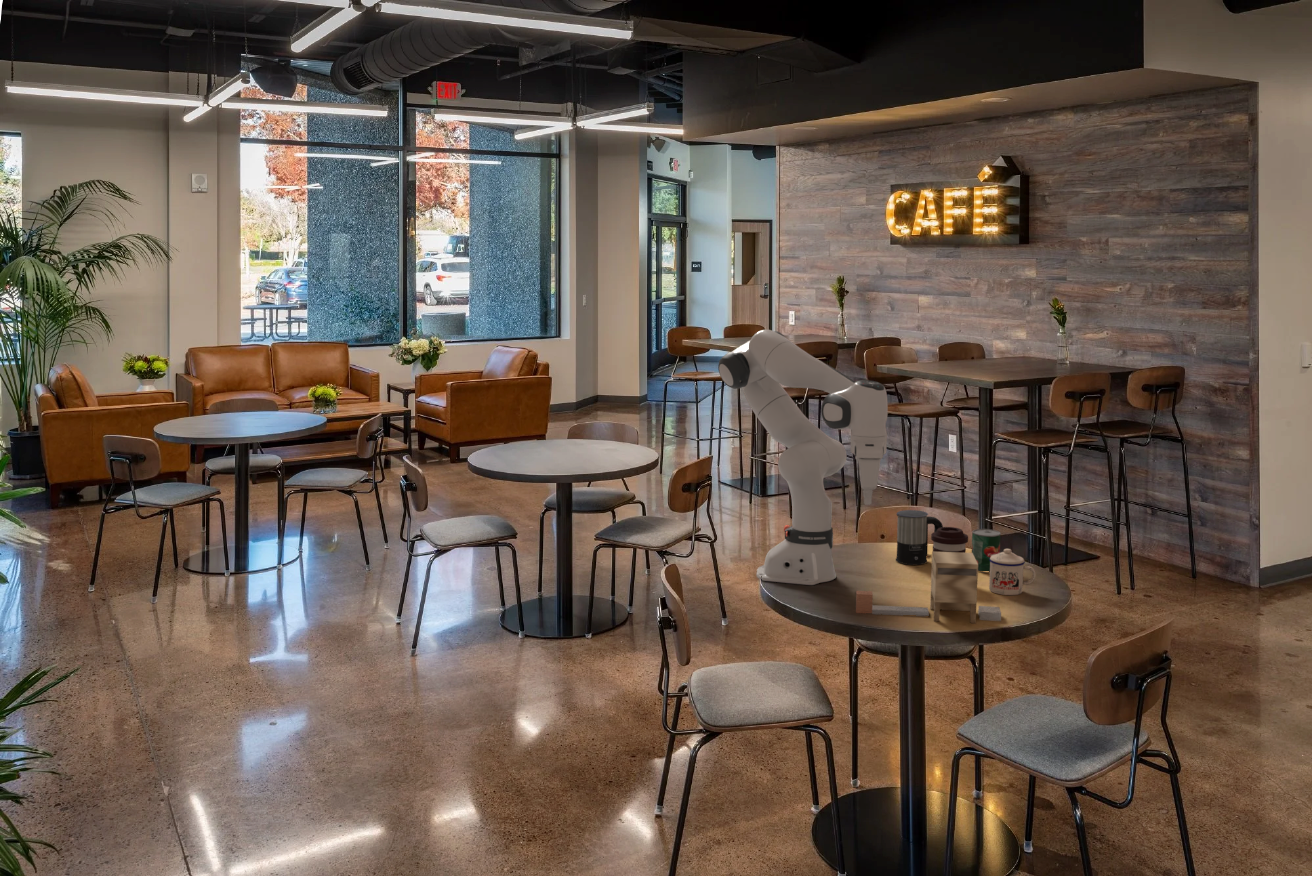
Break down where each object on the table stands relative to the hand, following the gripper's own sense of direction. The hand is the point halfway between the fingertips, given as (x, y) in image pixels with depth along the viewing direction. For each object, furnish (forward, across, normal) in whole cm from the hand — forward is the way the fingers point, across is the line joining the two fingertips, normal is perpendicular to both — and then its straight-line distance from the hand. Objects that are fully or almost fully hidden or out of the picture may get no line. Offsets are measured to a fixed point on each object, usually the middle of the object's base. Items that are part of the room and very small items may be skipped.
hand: (867, 500), depth 277 cm
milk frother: (+29, -55, +16) cm, 64 cm away
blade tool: (+29, 0, +7) cm, 30 cm away
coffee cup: (+29, -31, +24) cm, 49 cm away
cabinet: (+29, 0, +22) cm, 36 cm away
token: (+30, 0, +31) cm, 43 cm away
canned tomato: (+29, -46, +36) cm, 65 cm away
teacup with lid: (+29, -24, +40) cm, 55 cm away
